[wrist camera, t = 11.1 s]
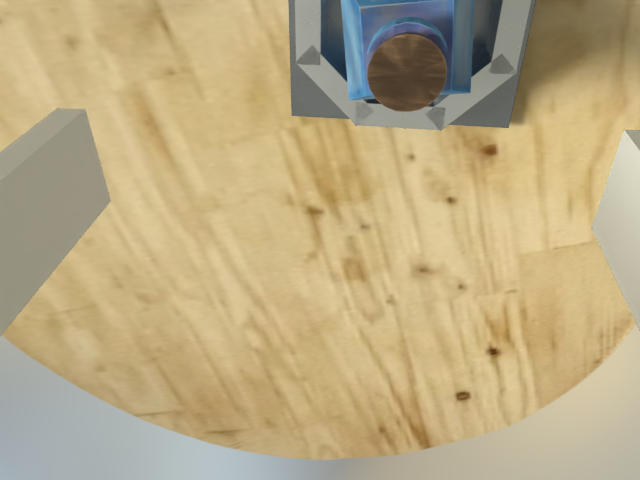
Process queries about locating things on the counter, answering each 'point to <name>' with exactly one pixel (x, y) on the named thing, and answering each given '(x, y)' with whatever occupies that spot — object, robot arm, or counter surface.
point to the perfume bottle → (407, 50)
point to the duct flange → (453, 109)
